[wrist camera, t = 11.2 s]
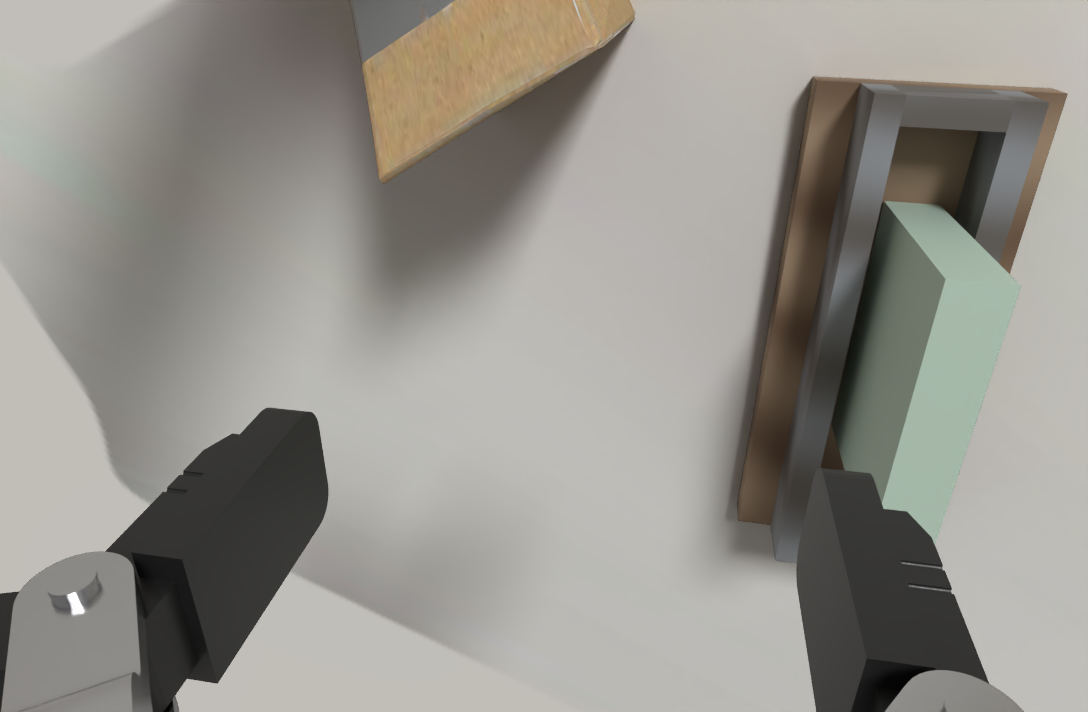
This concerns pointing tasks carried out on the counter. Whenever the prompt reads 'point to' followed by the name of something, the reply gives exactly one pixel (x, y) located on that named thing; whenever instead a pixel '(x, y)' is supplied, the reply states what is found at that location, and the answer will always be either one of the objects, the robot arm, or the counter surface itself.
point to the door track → (847, 242)
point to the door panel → (920, 358)
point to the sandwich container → (465, 62)
